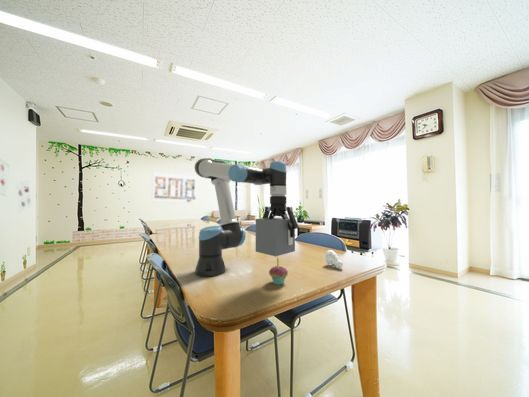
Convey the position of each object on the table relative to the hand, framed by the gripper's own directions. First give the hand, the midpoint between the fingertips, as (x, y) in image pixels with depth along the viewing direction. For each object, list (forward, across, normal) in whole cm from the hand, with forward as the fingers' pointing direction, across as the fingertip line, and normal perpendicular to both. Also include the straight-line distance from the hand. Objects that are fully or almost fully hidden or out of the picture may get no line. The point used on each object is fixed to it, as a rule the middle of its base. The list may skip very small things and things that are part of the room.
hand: (278, 242), depth 93 cm
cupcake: (+18, 0, 0) cm, 18 cm away
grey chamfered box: (+3, 0, -2) cm, 4 cm away
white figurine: (+18, +11, +39) cm, 44 cm away
